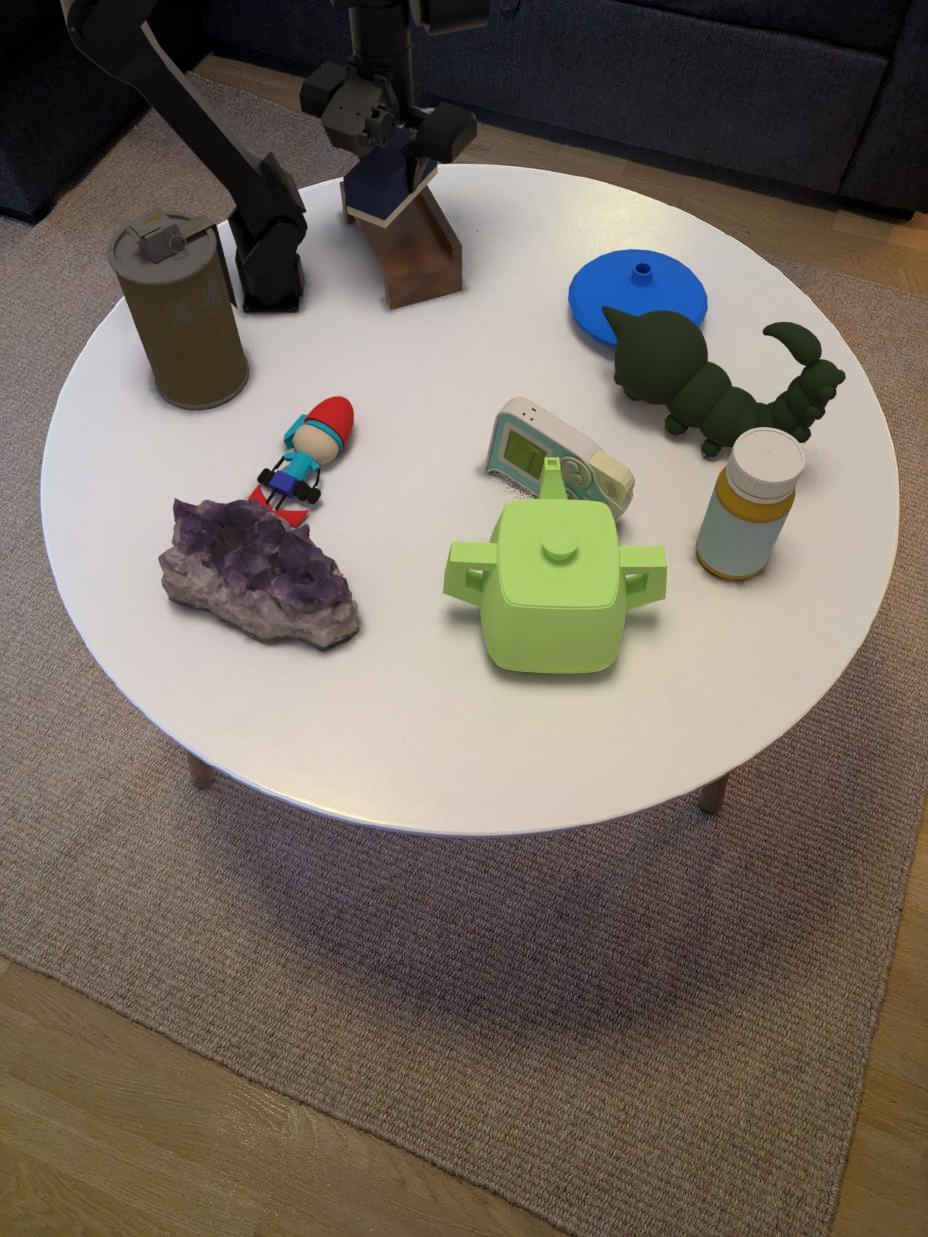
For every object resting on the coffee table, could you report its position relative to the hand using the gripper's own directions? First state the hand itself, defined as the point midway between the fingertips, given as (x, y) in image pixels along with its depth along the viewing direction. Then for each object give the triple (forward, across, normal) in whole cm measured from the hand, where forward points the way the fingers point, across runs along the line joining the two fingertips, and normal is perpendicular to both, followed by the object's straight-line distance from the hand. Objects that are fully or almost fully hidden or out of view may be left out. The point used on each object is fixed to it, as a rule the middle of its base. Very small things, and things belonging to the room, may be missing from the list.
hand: (392, 183), depth 111 cm
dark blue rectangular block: (+1, 0, 0) cm, 1 cm away
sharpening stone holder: (+11, -1, +2) cm, 11 cm away
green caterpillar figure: (+11, +41, -5) cm, 42 cm away
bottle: (+11, +51, -19) cm, 55 cm away
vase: (+11, +28, +6) cm, 31 cm away
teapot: (+11, +38, -33) cm, 51 cm away
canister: (+11, -9, -26) cm, 30 cm away
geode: (+11, +14, -46) cm, 49 cm away
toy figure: (+11, +9, -31) cm, 34 cm away
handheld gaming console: (+11, +33, -22) cm, 41 cm away
